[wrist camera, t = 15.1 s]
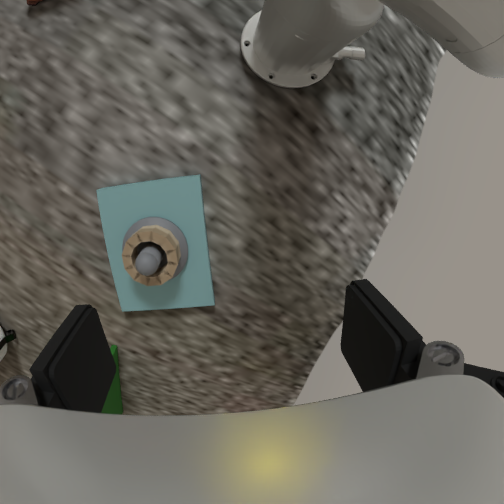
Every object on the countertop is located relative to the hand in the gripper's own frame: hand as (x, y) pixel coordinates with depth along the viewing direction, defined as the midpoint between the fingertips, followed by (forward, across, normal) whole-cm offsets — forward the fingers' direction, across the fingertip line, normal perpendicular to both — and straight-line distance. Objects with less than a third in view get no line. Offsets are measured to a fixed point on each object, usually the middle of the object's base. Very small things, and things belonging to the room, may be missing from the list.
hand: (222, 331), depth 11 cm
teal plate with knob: (+30, +10, +6) cm, 32 cm away
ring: (+28, +10, +6) cm, 30 cm away
